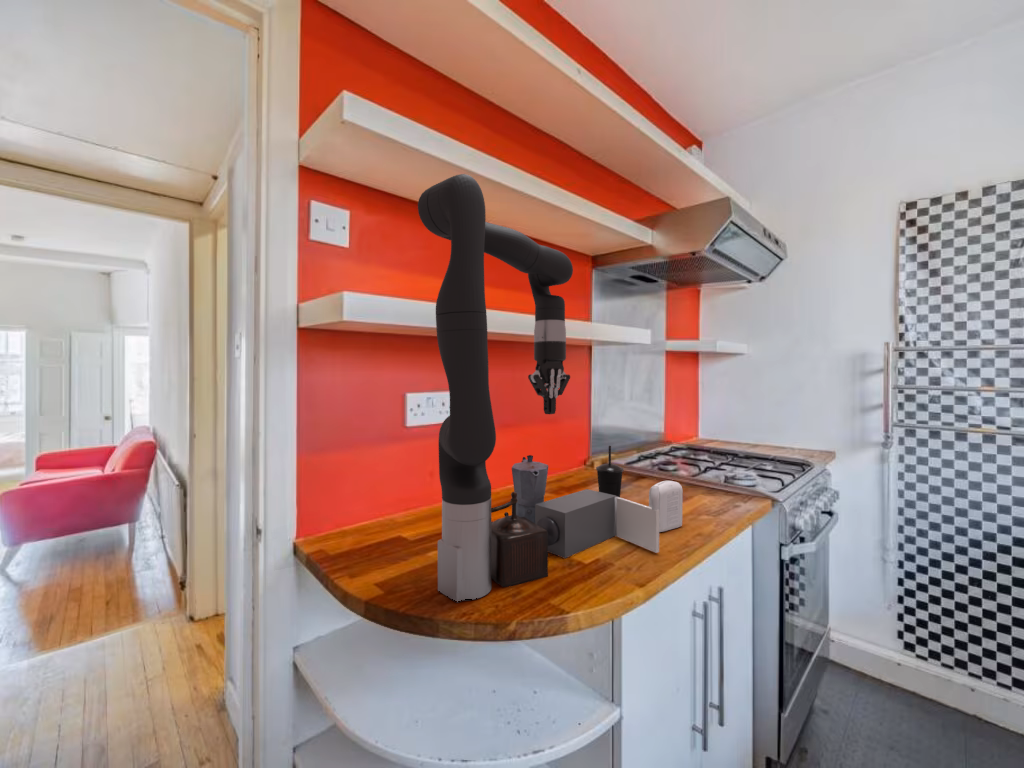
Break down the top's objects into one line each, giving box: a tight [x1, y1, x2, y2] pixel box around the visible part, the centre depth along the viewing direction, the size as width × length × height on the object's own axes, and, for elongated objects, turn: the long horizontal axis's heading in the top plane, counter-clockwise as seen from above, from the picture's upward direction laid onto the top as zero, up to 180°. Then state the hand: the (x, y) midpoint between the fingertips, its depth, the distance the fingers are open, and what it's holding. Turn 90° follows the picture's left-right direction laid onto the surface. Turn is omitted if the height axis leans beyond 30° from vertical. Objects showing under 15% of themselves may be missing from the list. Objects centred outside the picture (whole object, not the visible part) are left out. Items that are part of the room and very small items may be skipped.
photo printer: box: [648, 480, 684, 533], centre depth 116 cm, size 10×4×12 cm, turn 123°
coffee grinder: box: [491, 491, 549, 588], centre depth 89 cm, size 16×11×18 cm
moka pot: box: [511, 454, 549, 523], centre depth 113 cm, size 10×15×20 cm, turn 15°
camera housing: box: [535, 488, 616, 559], centre depth 106 cm, size 21×9×10 cm, turn 134°
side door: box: [614, 485, 660, 554], centre depth 104 cm, size 13×2×14 cm, turn 32°
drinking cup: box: [595, 445, 624, 498], centre depth 126 cm, size 8×8×20 cm
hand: (549, 413), depth 105 cm, fingers closed
